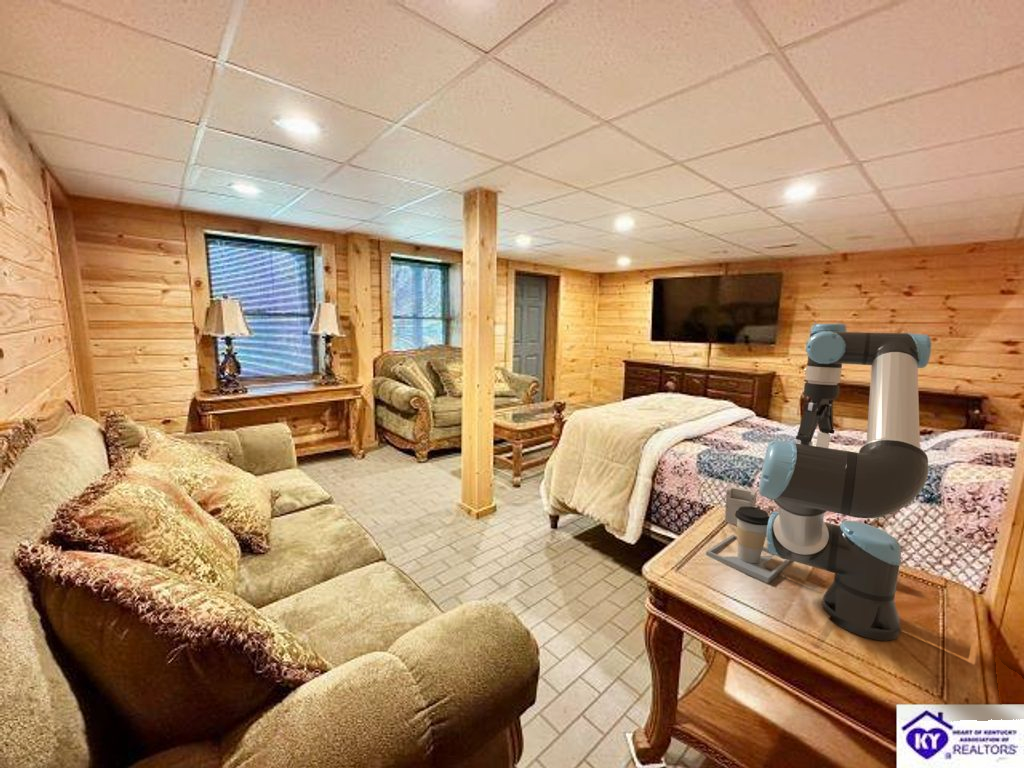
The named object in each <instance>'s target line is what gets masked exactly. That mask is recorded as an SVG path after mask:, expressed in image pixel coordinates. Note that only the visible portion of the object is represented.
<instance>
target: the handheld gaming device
mask: <svg viewBox="0 0 1024 768" xmlns="http://www.w3.org/2000/svg"><path fill="white" fill-rule="evenodd" d="M725 492H726V493H725V511H724V512H725V514H724V523H728V524H729V525H732V526H736V527H737V517H736V516H735V513H736V511H737V510H738V509H739V508H740V507H743V506H749V507H755V508H757V507H756V506H757V504H756V503H757V490H752V489H747V488H743V487H738V486H733V485H727V487H726V491H725Z"/></svg>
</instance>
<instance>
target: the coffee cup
mask: <svg viewBox="0 0 1024 768" xmlns="http://www.w3.org/2000/svg"><path fill="white" fill-rule="evenodd" d="M735 516H736V517H737V526H736V536H737V539H736V541H737V542H736V543H737V557H739V559H740V560H742V561H744V562H747V563H752V564H756V563H759V561H760V557H761V556H762V553H763V551H762V548H763V547H765V543H766V541H765V540H766V539H767V537H766V535H767V525H768V520H769V517H770V515H769V513H768V512H767V511H765V510H763V509H760V508H758V507H756V508H755V507H749V506H743V507H740V508H739V509H738V510H737V511H736V513H735Z"/></svg>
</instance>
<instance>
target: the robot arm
mask: <svg viewBox="0 0 1024 768" xmlns="http://www.w3.org/2000/svg"><path fill="white" fill-rule="evenodd" d="M806 341H807V342H806V343H805V352H806V355H807V363H806V368H804V370H803V371H804V373H805V380H806V382H805V383H804V386H803V387H804V388H803V395H804V397H807V398H810V402H809V401H808V402H807V401H806V402H805V403H804V411H803V413H802V417H801V420H800V424H799V429H798V431H797V435H796V436H795V439H796V441H799V443H797V442H794V441H790V440H787V441H783V440H773V441H770V442H769V443H768V444H767V446H766V451H765V456H764V459H763V464H762V470H761V473H760V474H761V475H760V479H759V480H760V481H759V485H758V494H759V495H760V496H761V497H764V498H766V499H768V500H772V501H774V503H775V504H776V505H777V506H778V510H775V511H772V512H771V514H770V515H769V520H768V525H767V534H766V546H767V548H768V550H769V551H770V553H772V554H773V555H772V556H776V557H779V558H780V559H783V560H786V559H788V560H791V562H795V563H799V564H802V565H805V566H809V567H812V568H816V569H818V570H819V569H820V570H823V571H827V572H829V573H832V574H833V581H832V582H831V584H830V585H829V587H828V589H826V592H825V593H824V594H823V596H822V601H821V604H822V608H823V610H825V612H826V613H827V614H828V615H829V618H828V619H829V620H831V622H833V623H834V624H836V625H838V626H839V627H841V628H842V629H845V630H846V631H848V632H851V633H853V634H855V635H858V636H861V637H863V638H867V639H872V640H876V641H877V640H878V641H892V640H896V639H897V638H899V636H900V633H901V632H900V631H901V621H900V617H899V616H900V615H899V613H898V610H897V605H896V601H895V597H896V591H897V584H898V577H899V574H898V572H899V573H900V566H901V565H902V546H901V544H900V543H899V541H898V540H897V539H896V537H894V536H893V535H891V534H890V533H888V532H886V531H885V530H883V529H880V528H878V527H876V526H873V525H870V524H867V523H865V522H861V521H858V520H857V521H856V520H844V521H842V522H841V523H840V525H837V524H833V523H829V522H825V521H824V518H825V514H826V513H827V512H830V513H834V514H838V515H839V514H840V515H845V516H848V517H851V518H857V519H877V518H881V517H885V516H886V517H887V516H888V515H892V514H893V513H894V514H895V513H896V512H898V511H900V510H901V509H903V508H905V507H906V506H907V505H909V504H910V503H911V502H913V500H914V499H915V498H916V497H917V496H918V495H919V494H920V493H921V491H922V490H923V488H924V486H925V484H926V482H927V479H928V475H929V459H928V454H927V453H926V451H924V449H922V448H921V443H920V441H921V440H920V439H921V438H920V403H919V373H918V372H919V371H918V369H922V368H923V369H924V368H926V367H927V366H928V364H929V361H930V358H931V352H932V339H931V337H930V336H929V335H927V334H922V333H921V334H920V333H910V332H861V331H859V332H858V331H847V325H845V324H844V323H814V324H812V326H811V329H810V332H809V338H808V340H806ZM843 365H857V366H858V365H861V366H870V367H871V368H870V369H871V370H870V385H869V399H868V416H867V428H866V429H867V430H866V443H865V444H863V445H862V446H861V447H860V449H859V450H858V452H856V451H849V450H841V449H837V448H836V449H835V448H830V440H831V439H830V437H831V434H833V435H834V434H835V428H834V427H835V426H834V400H836V399H838V398H839V394H840V385H839V383H841V380H842V379H841V378H842V371H843V367H842V366H843ZM817 426H818V429H819V431H818V432H817V435H816V436H817V438H816V445H813V444H814V442H813V437H814V435H815V431H816V429H817Z"/></svg>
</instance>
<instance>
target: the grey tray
mask: <svg viewBox="0 0 1024 768" xmlns="http://www.w3.org/2000/svg"><path fill="white" fill-rule="evenodd" d="M734 539H735V540H737V535H735V534H732V535H730V536H728V537H727V538H726V539H724V540H722V541H721V542H719V543H717V544H715V545H714V546H713V547H711V548H709V549H707V551H706V552H705V555H706V556H708V557H709V558H712V560H713V559H714V560H715V561H718V562H720V563H721V564H724V565H725V566H727V567H730V568H731V569H733V570H736V571H738V572H740V573H742V574H744V575H746V576H748V577H750V578H753V579H755V580H758V581H759V582H762V583H764V584H766V585H769V584H771V582H772V581H773V580H775V579H776V577H778V576H780V575H781V573H780V572H781V571H782V570H783V569H785V567H786V566H788V564H789V563H791V562H792V561H791V560H788V559H784V561H783V562H781V563H780V564H778V566H777V567H776V568H774V569H771V568H769V567H767V566H765V565H766V564H767V563H768V561H770V560H772V558H773V557H774V555H773V554H772V553H770V551H769V550H768V547H766V546H764V547H763V548H762V552H765V553H767V554H770V555H761V557H760V561H759V563H756V564H752V563H747V562H744V561H742V560H740V559H739V557H738V556H721V555H719V554H717V553H716V552H717V551H719V550H720V549H721V548H722V547H724V546H725V545H727V544H728V543H729V542H731V541H732V540H734Z"/></svg>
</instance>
